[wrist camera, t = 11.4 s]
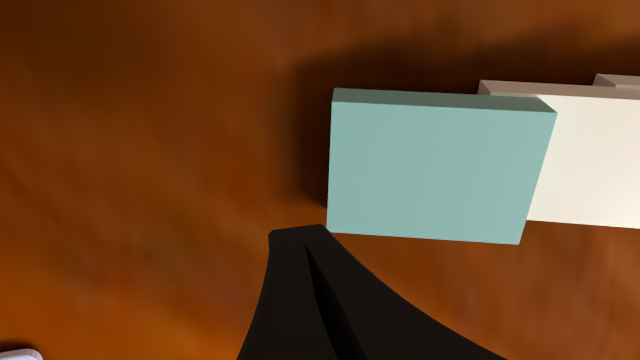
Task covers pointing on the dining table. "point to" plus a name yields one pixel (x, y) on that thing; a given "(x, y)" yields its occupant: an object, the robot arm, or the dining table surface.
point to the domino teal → (435, 163)
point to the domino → (585, 153)
